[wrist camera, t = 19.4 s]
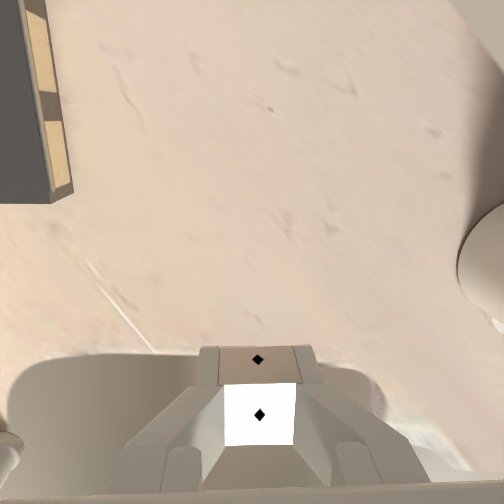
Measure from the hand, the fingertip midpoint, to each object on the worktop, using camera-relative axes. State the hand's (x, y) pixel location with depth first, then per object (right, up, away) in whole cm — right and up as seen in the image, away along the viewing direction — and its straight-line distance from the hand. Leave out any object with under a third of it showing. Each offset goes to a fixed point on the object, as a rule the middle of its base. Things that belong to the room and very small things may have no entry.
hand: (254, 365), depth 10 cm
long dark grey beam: (-20, +20, +22) cm, 36 cm away
